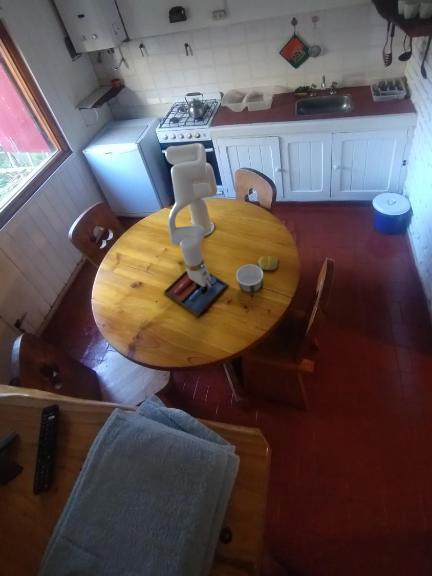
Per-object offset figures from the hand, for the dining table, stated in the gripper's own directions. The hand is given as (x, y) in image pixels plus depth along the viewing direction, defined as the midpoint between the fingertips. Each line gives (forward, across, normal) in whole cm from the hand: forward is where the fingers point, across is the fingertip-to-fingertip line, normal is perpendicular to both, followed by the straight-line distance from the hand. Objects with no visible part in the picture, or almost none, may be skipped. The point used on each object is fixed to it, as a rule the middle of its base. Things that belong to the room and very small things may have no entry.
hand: (202, 290), depth 154 cm
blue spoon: (0, 0, 0) cm, 0 cm away
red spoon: (+3, +11, 0) cm, 11 cm away
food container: (+4, -14, -17) cm, 22 cm away
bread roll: (+4, -14, -31) cm, 34 cm away
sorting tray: (+4, +6, 0) cm, 7 cm away
